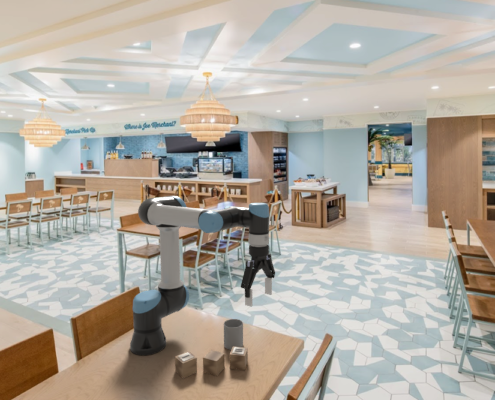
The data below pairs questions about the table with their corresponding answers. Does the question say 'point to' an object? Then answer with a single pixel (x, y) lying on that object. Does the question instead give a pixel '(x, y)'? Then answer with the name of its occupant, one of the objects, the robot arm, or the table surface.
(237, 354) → the numbered block
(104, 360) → the table surface
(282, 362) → the table surface
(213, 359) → the plain block
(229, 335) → the cup
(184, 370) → the numbered block
